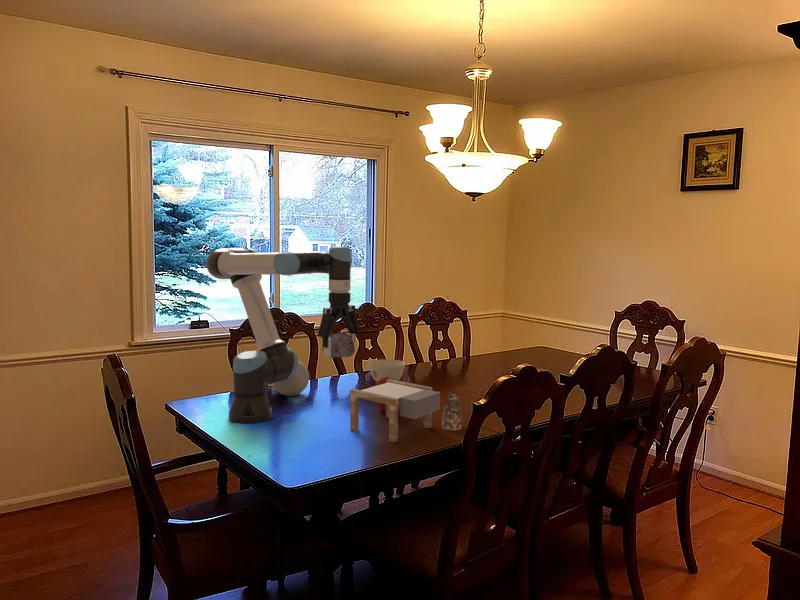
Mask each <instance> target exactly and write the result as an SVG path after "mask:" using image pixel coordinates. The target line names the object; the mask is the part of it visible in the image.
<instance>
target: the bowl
mask: <svg viewBox="0 0 800 600" xmlns="http://www.w3.org/2000/svg"><path fill="white" fill-rule="evenodd" d="M368 365H369V371H370V374H371V377H372V378H373V379H374V381H375V382H377V381H378V380H379V379H381V378H384V377H387V375H388V377H389V378H393V379H396V380H397V381H401V378H402V377H403V375H404V370H405V368H406V367H405V366H406V362H405V361H402V360H398V359H391V358H389V359H387V358H386V359H374V360H371V361H369V362H368Z"/></svg>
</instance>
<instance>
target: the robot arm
mask: <svg viewBox="0 0 800 600" xmlns="http://www.w3.org/2000/svg"><path fill="white" fill-rule="evenodd" d="M205 265H206V269H207V272H208V273H209V275H210V276H212V277H213V278H215V279H219V280H230V282H231V285H232V287H233V288H235V289H237V290H238V293H239V296H240V299H241V302H242V304H243V307H244V310H245V313H246V316H247V319H248V321H249V323H250V327H251V330H252V333H253V336H254V339H255V341H256V344H257V349H256V350H249V351H243V352H240V353H238V354H236V355H235V357H233V361H232V362H233V363H232V364H233V365H232V379H233V380H232V381H233V397H232V401H231V403H230V404H231V405H230V409H229V411H228V419H229V420H230V421H231V422H235V423H239V424H240V423H241V424H252V423H253V424H255V423H260V422H265V421H267V420H269V419H271V418H272V416H273V410H272V407H271V403H270V401H269V398H268V395H267V393H268V392H267V391H268V390H267V389H268V388H267V386H268V385H273V383H275V382H279V381H285V380H287V379H289V378H291V377H293V376H294V375H295V373H296V371H297V368H298V361H299V358H298V355H297V353H296V351H295V350H293V349H292V348H290V347H288V346H287V343H286V341H284V340H283V339H281V338H280V336H279V332H278V330H277V327H276V324H275V321H274V318H273V316H272V313H271V309H270V307H269V304H268V302H267V298H266V296H265V293H264V289H263V288H262V285H261V280H262V278H263V276H264V275H266V276H267V275H268V276H269V275H279V276H294V275H305V274H306V275H307V274H327V275H328V291H329V292H328V303H329V307H323V308H322V317H321V321H320V326H319V328H318V332H317V336H318V337H320V338H322V348H323V347H324V354H323V357H325V358H329V357H331V338H329V337H331V335H332V332H333V329H334V327H335V325H336V323H337V322H338V320H340V319H342V320H343V323H344V325H345V327H346V329H347V331H348V333H346V334H348V335H349V336H352V339H353V342H354V343H355V341H356V335H358V332H360V327H359V322H358V317H357V314H356V305H353V304H350V303H351V292H350V291H351V279H352V277H351V270H352V253H351V248H350V247H348V246H330V247H329V248H328V251H327V252H326V251H316V250H315V251H314V250H309V251H308V250H307V251H300V252H299V251H298V252H297V251H291V252H289V251H287V252H286V251H284V252H258V251H257V250H256V249H253V248H252V247H251V248H250V247H249V248H248V247H237V248H235V247H233V248H231V247H230V248H229V247H227V248H218V249H217V248H216V249H215V250H213V251H211V252H210V253H209V254H208V256H207V258H206V263H205Z"/></svg>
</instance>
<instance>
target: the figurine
mask: <svg viewBox="0 0 800 600" xmlns="http://www.w3.org/2000/svg"><path fill="white" fill-rule="evenodd" d="M447 395H448V397H447V399H446V403H447V405H446V406H445V407H444V408H443V412H442V413H443V414H442V419H441V428H442V429H443V430H448V431H453V432H454V431H459V430H462V429H463V413H462V409H461V408H462V407H461V406H460V396H458V395H457V394H456V393H452V392H451V391H449V392H447Z"/></svg>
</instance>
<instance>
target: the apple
mask: <svg viewBox="0 0 800 600" xmlns="http://www.w3.org/2000/svg"><path fill="white" fill-rule="evenodd" d="M388 379H392V380H396V379H393V378H389V377H388V375H387V377H384V378H381V379H379V380H378V381H377V382H376V381H375V382H376V383H375V384H374V386H378V385H381V384H385V383H386V380H388ZM398 404H400V401H398ZM376 405H377V407H378V408H379V409H380V410H381V411H382V412H385V413H386V404H383V403H379V402H376Z"/></svg>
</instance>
